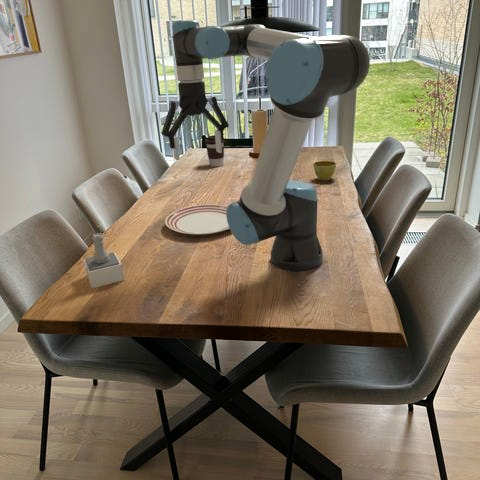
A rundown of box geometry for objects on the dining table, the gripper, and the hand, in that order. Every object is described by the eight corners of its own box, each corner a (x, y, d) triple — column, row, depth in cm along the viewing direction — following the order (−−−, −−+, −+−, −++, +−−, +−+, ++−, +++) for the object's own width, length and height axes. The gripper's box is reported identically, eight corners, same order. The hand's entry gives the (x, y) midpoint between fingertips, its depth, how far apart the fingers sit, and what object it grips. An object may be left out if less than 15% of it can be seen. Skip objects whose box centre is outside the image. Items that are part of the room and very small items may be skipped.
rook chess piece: (104, 255, 132) (99, 230, 129) (113, 259, 130) (108, 233, 126) (90, 261, 129) (85, 235, 126) (100, 265, 127) (94, 239, 123)
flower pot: (333, 175, 211) (333, 159, 208) (338, 181, 202) (338, 165, 199) (311, 176, 211) (311, 161, 208) (315, 183, 202) (315, 167, 199)
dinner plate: (258, 223, 163) (258, 214, 162) (198, 248, 147) (197, 238, 145) (209, 207, 182) (209, 199, 181) (151, 227, 166) (149, 219, 164)
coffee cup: (225, 167, 236) (223, 137, 230) (206, 168, 236) (203, 138, 230) (226, 162, 245) (224, 133, 239) (208, 163, 245) (205, 135, 239)
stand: (124, 280, 129) (121, 263, 127) (91, 288, 126) (88, 271, 124) (118, 267, 137) (114, 251, 135) (86, 275, 134) (83, 258, 132)
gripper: (226, 76, 138) (230, 147, 146) (144, 84, 128) (154, 159, 137) (236, 77, 131) (241, 151, 140) (151, 86, 122) (161, 164, 131)
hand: (198, 155), depth 138 cm, fingers open, 13 cm apart
